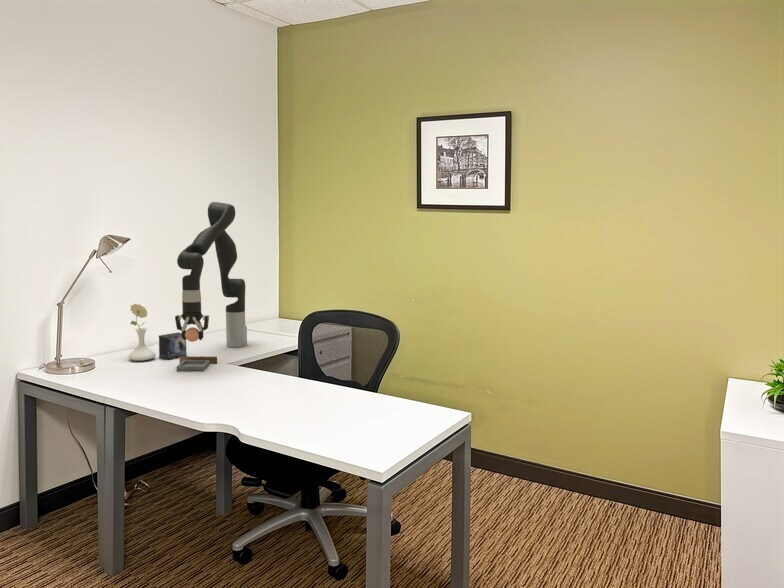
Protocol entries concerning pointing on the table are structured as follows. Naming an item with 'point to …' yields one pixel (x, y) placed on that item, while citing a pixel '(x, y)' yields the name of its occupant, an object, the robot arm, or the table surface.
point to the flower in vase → (140, 336)
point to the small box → (171, 346)
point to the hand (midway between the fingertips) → (192, 339)
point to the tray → (193, 365)
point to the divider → (199, 358)
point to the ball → (192, 334)
